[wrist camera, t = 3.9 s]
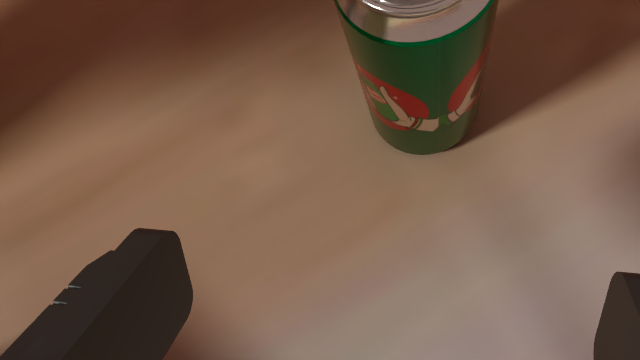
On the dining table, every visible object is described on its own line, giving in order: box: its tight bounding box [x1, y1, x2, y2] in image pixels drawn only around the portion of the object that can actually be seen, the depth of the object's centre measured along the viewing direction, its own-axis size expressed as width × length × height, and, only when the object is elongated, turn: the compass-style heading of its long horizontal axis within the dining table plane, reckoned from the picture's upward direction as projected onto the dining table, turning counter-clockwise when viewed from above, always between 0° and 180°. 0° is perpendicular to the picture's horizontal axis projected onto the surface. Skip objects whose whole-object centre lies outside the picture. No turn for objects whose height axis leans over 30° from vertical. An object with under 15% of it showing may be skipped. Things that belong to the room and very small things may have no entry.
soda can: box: [334, 0, 499, 155], centre depth 20 cm, size 5×5×12 cm
